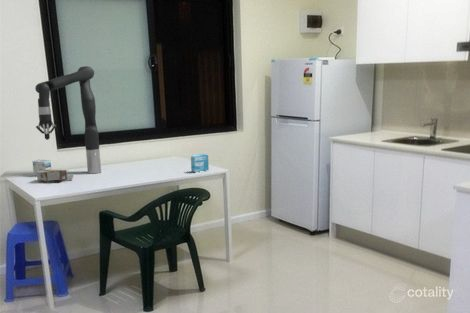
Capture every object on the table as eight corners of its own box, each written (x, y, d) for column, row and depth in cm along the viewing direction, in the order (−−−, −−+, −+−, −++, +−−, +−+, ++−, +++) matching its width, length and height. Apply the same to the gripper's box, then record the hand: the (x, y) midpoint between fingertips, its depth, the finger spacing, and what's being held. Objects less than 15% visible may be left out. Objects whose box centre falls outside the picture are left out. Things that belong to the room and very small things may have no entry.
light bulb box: (52, 174, 312) (51, 159, 310) (46, 176, 305) (44, 161, 303) (40, 173, 315) (38, 159, 313) (33, 176, 308) (31, 161, 306)
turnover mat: (73, 175, 306) (73, 174, 306) (71, 180, 291) (71, 179, 291) (48, 177, 302) (48, 176, 302) (45, 182, 287) (45, 181, 287)
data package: (194, 173, 307) (193, 156, 305) (191, 172, 311) (190, 155, 309) (208, 170, 314) (208, 154, 312) (205, 169, 318) (204, 153, 316)
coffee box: (37, 181, 287) (59, 182, 285) (36, 171, 286) (59, 172, 284) (45, 178, 296) (67, 179, 294) (44, 169, 295) (66, 169, 293)
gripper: (56, 112, 294) (58, 138, 297) (34, 113, 290) (37, 139, 293) (55, 113, 287) (57, 139, 290) (33, 114, 283) (35, 140, 286)
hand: (47, 139), depth 292 cm, fingers closed
